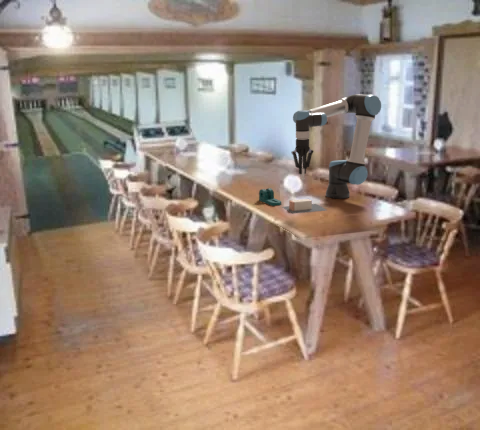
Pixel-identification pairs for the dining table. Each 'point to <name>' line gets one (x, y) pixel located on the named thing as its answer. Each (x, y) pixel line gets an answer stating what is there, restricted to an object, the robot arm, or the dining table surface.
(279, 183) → the dining table surface
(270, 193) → the bracket
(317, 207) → the slate mat
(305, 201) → the cream block
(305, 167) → the robot arm
